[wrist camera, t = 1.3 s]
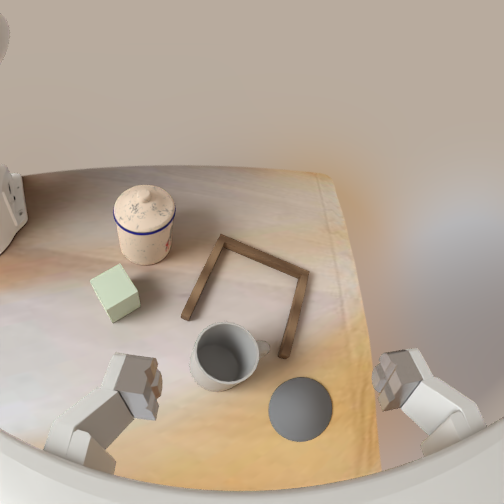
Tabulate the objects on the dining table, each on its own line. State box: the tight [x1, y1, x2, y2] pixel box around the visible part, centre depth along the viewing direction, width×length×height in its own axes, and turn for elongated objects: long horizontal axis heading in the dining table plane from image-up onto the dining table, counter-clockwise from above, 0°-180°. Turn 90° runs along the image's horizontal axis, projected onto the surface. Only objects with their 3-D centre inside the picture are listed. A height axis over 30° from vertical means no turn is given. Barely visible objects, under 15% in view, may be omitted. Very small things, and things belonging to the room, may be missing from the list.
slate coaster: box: [269, 377, 332, 442], centre depth 36 cm, size 10×10×1 cm
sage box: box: [90, 264, 141, 323], centre depth 36 cm, size 5×5×5 cm
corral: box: [181, 234, 309, 359], centre depth 44 cm, size 16×16×2 cm
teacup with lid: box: [113, 185, 176, 265], centre depth 40 cm, size 12×9×12 cm
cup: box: [189, 322, 270, 392], centre depth 33 cm, size 7×10×9 cm
